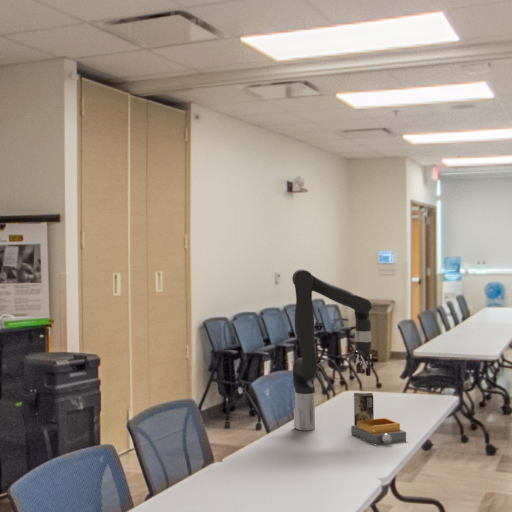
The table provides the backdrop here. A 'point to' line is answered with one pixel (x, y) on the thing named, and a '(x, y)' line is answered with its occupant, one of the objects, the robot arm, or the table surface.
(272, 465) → the table surface
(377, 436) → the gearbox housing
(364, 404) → the coffee box
